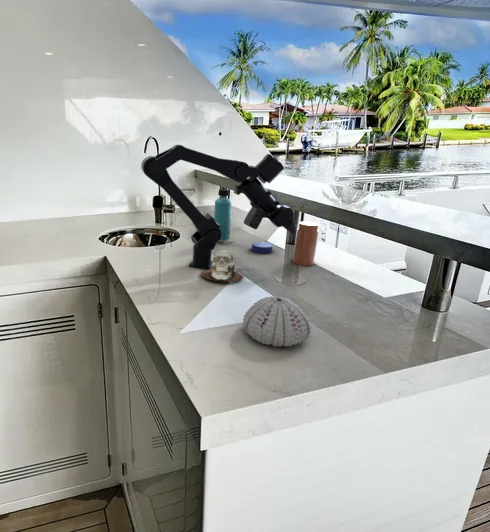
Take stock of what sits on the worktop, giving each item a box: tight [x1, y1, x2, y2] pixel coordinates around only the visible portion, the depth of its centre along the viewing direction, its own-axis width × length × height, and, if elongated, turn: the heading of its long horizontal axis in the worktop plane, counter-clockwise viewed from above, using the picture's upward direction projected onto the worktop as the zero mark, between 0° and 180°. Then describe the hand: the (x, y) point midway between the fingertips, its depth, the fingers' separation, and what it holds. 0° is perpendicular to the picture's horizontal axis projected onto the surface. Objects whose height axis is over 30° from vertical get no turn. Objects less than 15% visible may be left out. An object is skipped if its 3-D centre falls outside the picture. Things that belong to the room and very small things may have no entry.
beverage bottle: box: [213, 188, 233, 241], centre depth 142 cm, size 6×7×20 cm
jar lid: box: [251, 241, 274, 255], centre depth 135 cm, size 7×7×2 cm
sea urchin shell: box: [242, 296, 312, 348], centre depth 77 cm, size 13×14×8 cm
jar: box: [292, 221, 320, 267], centre depth 122 cm, size 6×6×13 cm
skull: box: [200, 249, 244, 283], centre depth 109 cm, size 12×10×10 cm
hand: (287, 229), depth 119 cm, fingers open, 9 cm apart
